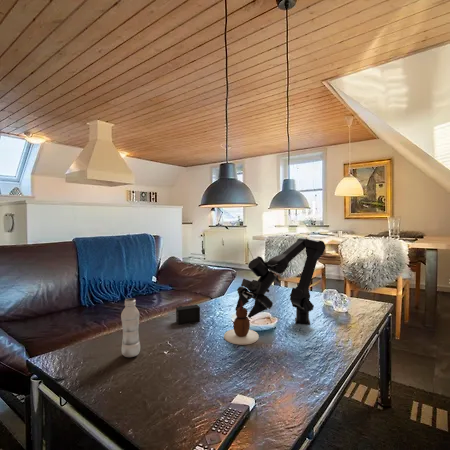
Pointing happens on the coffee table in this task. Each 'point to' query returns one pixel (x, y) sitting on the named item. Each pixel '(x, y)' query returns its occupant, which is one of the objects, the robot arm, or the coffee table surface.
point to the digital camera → (187, 314)
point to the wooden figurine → (241, 321)
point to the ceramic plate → (245, 340)
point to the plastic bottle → (130, 329)
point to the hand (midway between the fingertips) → (242, 313)
